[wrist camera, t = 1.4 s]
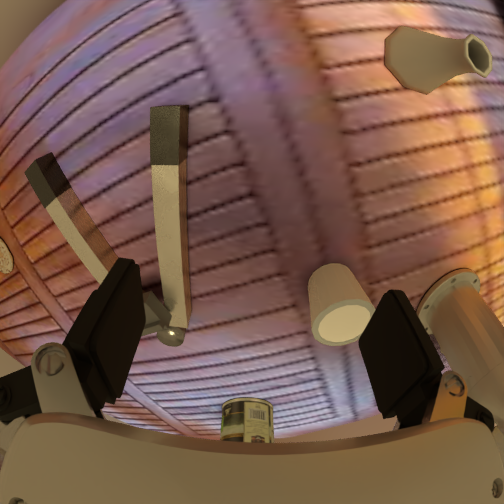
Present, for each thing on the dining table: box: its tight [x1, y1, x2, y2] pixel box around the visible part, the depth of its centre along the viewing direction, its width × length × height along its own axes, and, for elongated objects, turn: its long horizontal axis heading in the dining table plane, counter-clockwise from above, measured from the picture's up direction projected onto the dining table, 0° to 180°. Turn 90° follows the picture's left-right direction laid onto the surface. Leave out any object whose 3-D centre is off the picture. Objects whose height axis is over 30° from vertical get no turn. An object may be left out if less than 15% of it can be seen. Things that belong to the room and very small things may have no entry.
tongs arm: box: [150, 105, 192, 328], centre depth 26 cm, size 24×2×3 cm, turn 175°
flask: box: [385, 26, 492, 95], centre depth 14 cm, size 7×7×10 cm
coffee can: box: [220, 398, 274, 443], centre depth 43 cm, size 10×10×14 cm
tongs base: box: [25, 152, 186, 346], centre depth 28 cm, size 29×4×3 cm, turn 25°
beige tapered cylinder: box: [308, 263, 376, 346], centre depth 29 cm, size 7×7×7 cm
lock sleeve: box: [141, 291, 172, 336], centre depth 28 cm, size 4×7×3 cm, turn 115°
